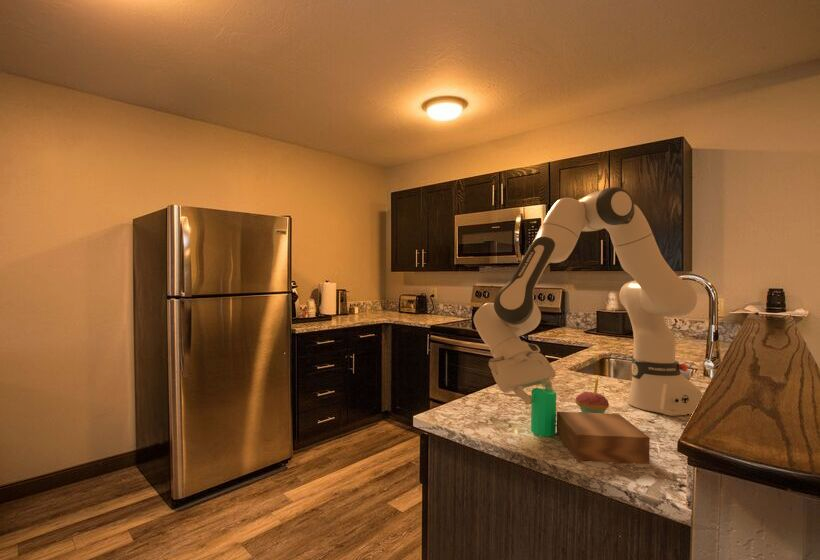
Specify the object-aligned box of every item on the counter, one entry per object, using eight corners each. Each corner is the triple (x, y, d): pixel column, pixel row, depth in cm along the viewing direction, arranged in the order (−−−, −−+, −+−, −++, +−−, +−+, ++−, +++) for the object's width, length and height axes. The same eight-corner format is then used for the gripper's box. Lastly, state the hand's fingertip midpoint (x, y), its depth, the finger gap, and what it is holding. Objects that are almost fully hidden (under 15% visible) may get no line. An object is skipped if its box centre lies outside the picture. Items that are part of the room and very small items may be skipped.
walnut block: (618, 437, 102) (618, 413, 102) (649, 465, 87) (649, 437, 87) (556, 435, 103) (556, 411, 103) (576, 462, 88) (577, 434, 88)
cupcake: (615, 422, 112) (616, 378, 112) (589, 424, 110) (590, 380, 109) (593, 412, 120) (594, 371, 120) (568, 414, 118) (569, 372, 118)
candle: (557, 437, 101) (558, 388, 100) (532, 435, 102) (532, 387, 102) (553, 428, 106) (554, 382, 106) (529, 426, 108) (530, 381, 107)
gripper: (492, 352, 104) (524, 400, 96) (541, 344, 116) (572, 387, 109) (479, 366, 107) (508, 414, 100) (527, 357, 120) (556, 399, 112)
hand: (542, 400), depth 104 cm, fingers open, 8 cm apart
